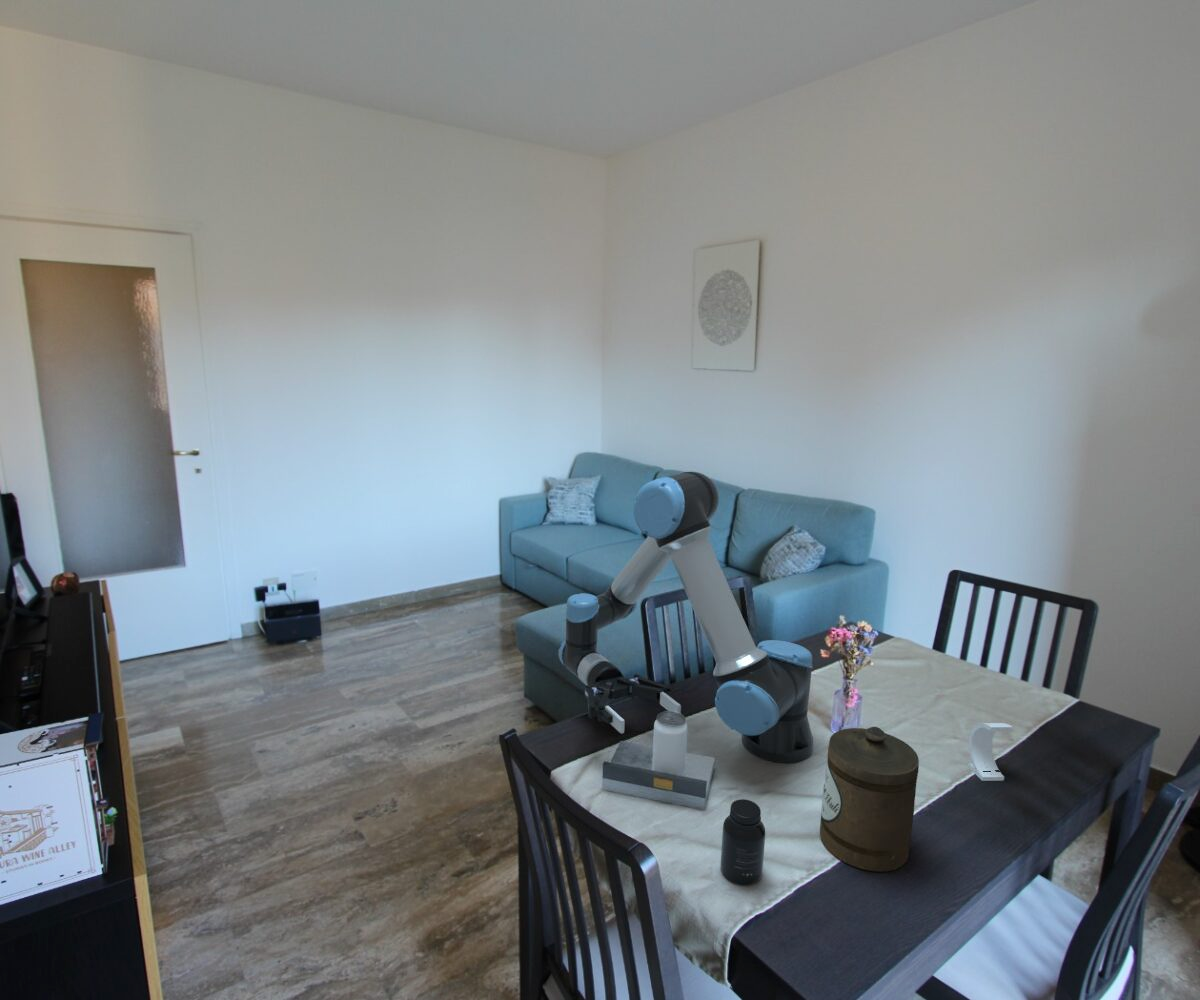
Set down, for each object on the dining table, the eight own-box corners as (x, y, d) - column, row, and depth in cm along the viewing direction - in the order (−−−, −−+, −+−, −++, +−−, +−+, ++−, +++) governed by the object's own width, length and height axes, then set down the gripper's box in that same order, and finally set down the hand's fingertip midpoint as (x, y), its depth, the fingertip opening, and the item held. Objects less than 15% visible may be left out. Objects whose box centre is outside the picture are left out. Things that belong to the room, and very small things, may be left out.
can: (674, 761, 143) (677, 707, 140) (690, 779, 137) (694, 723, 134) (646, 768, 140) (648, 713, 137) (661, 786, 134) (664, 729, 132)
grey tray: (713, 768, 145) (715, 744, 144) (704, 811, 131) (705, 785, 130) (620, 751, 150) (621, 728, 149) (601, 790, 136) (602, 765, 135)
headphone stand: (982, 781, 143) (990, 727, 141) (965, 763, 149) (973, 712, 146) (1003, 780, 143) (1012, 727, 141) (986, 763, 149) (994, 712, 147)
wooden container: (829, 805, 134) (840, 700, 129) (913, 833, 127) (928, 722, 122) (809, 851, 121) (821, 736, 117) (901, 885, 114) (918, 764, 109)
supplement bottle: (715, 857, 119) (719, 795, 117) (754, 856, 120) (759, 793, 117) (726, 888, 113) (730, 822, 110) (767, 886, 113) (773, 820, 111)
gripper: (645, 680, 167) (700, 721, 149) (550, 702, 155) (597, 751, 137) (647, 650, 165) (702, 689, 147) (551, 671, 153) (598, 716, 135)
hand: (651, 719), depth 142 cm, fingers open, 13 cm apart
